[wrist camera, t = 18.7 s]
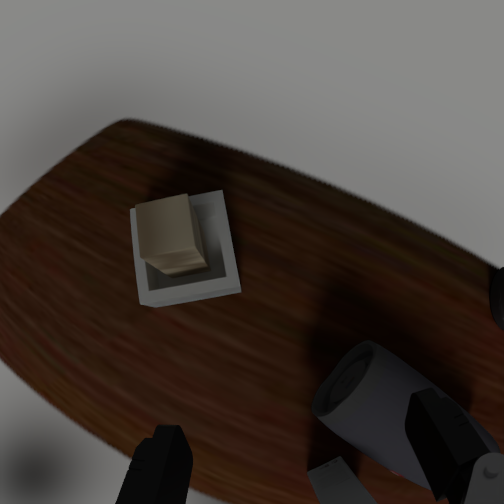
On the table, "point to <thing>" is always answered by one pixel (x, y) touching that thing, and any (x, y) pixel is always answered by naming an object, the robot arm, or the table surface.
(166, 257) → the birch peg
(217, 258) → the socket stand
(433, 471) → the robot arm
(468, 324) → the table surface
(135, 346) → the table surface
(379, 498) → the table surface
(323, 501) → the skincare box
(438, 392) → the bluetooth speaker
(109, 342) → the table surface
